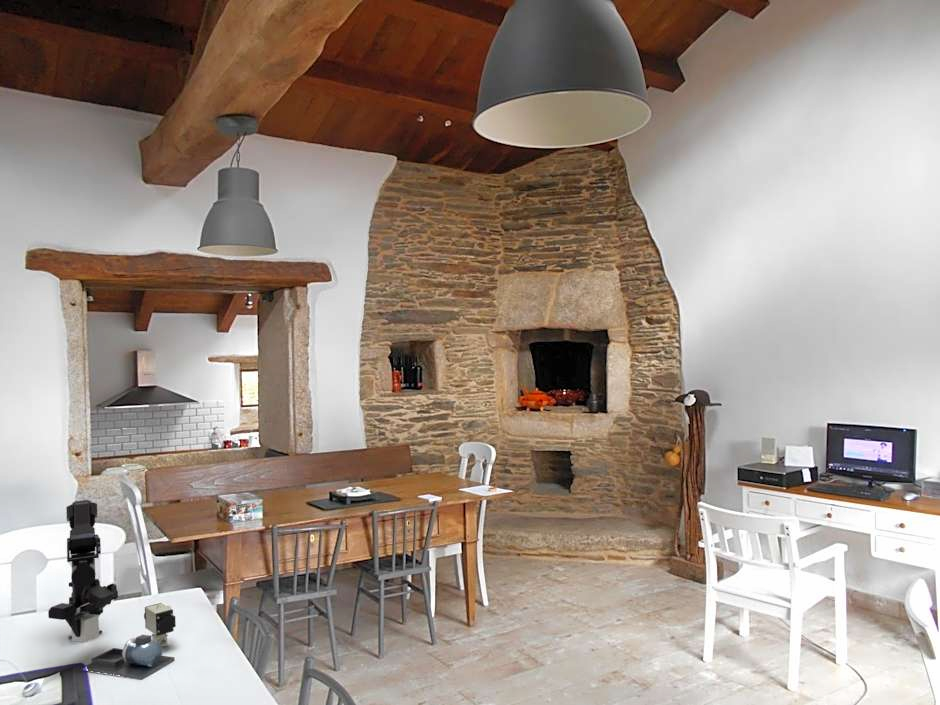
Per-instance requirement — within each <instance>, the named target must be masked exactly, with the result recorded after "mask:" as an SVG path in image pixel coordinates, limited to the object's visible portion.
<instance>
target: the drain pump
mask: <svg viewBox="0 0 940 705" xmlns="http://www.w3.org/2000/svg"><path fill="white" fill-rule="evenodd" d="M81 613H84V615H83V616H82V617H81V633H80V637H76V636H75V634H74V632H73V631H72V630H71V636H72V639H71V641H72V642H80V643H88V642H90V641H92V640H95V639H96V638H99V637H100V634H99V631H100V626H99V625H100V621H99V620H100V619H99V618H100V615H96V614H89V611H85V612H81Z"/></svg>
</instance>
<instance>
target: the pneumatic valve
mask: <svg viewBox="0 0 940 705" xmlns="http://www.w3.org/2000/svg"><path fill="white" fill-rule="evenodd" d="M143 618H144V623H145V624H144V625H145V629H146V630H148V631H149V632H151V633H152V634H151V642H156V643H160V644H161V646H162V648H163V647H167V646H168V645H169V643H168V636H169V635H168V634H169V633H172V632H174V628H176V626H177V625H176V624H177V623H176V615H174V610H173V609H172V606H171V605H165V604H163V603H162V602H158V603H156V604H152V605H151V604H150V605H148V606H145V607H144V614H143Z"/></svg>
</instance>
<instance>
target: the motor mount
mask: <svg viewBox="0 0 940 705" xmlns="http://www.w3.org/2000/svg"><path fill="white" fill-rule="evenodd" d="M175 658H176V657H174V656H169V655H168V656H167V655H163V647H162V646H161V644H160V643H156V642H152V635H146V634H141V635H139V636H136V637H134V638H133V637H132V638H130V639H128V640H127V641H126V643H125V644H124V646H123V648H118V647H112V648H110V649H109V650H106V651H104V652H102V653H99V654H98V655H97V656H94V657H92V658H91V659H90V663H88V664H85V666H86V667H87V669H88V671H93V672H100V673H107V674H112V675H111V676H113V674H114V675H120V676H124V677H123V678H126V677H129V679H133V678H135V679H136V680H141V681H142V680H144V679H146V678H147V677H150V676H151V675H153V674H154V673H156V672H158V671H160V670H161V669H163V668H165V667H167V666H169V665H170V664H171V663H174V662H175ZM173 661H174V662H173ZM135 679H134V680H135Z"/></svg>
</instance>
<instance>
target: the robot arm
mask: <svg viewBox="0 0 940 705" xmlns="http://www.w3.org/2000/svg"><path fill="white" fill-rule="evenodd" d="M65 510H66V522H69V527H70V530H69V537H68V538H66V556H67V557H66V560H67V561H66V562H67V563H70V562H71V579H70V580H71V581H70V582H68V587H71V590H72V592H71V593H70V594H71V595H70V597H68V603H63V602H62V603H59V604H55V605H53V606H51V607H50V608H49V609H48V613H47V614H48V615H47V616H48V619H53V620H65V622H66V623H67V624H68V626H69V627H70V629H71V632H72V631H73V632H74V634H75V636H76V637H80V633H81V617H82V616H83V615H84V613H81V612H85V611H89V614H96V615H99V616H101V614H103V613H104V608H105V607H106V606H108V605H111V603H112V601H113V600H116V599H118V598H119V591H118V589H117V584H115V583H113V582H112V583H109V584H108V585H104V586H102V585H101V582H100V579H99V578H96V575H97V574H96V564H95V563H96V559H99V556H100V554H102V553H101V552H102V550H101V549H102V548H101V538H100V537H99V534H98V533H97V534H96V529H95V527H94V526H95V524H96V518H97V519H98V516H99V514H98V503H96V502H92V501H91V500H89V499H84V500H76V501H73V502H72V504H70V505H67V506H66V508H65ZM102 633H103V631H102V630H99V635H100V634H102ZM69 639H71V640H72V635H70V636H69Z"/></svg>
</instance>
